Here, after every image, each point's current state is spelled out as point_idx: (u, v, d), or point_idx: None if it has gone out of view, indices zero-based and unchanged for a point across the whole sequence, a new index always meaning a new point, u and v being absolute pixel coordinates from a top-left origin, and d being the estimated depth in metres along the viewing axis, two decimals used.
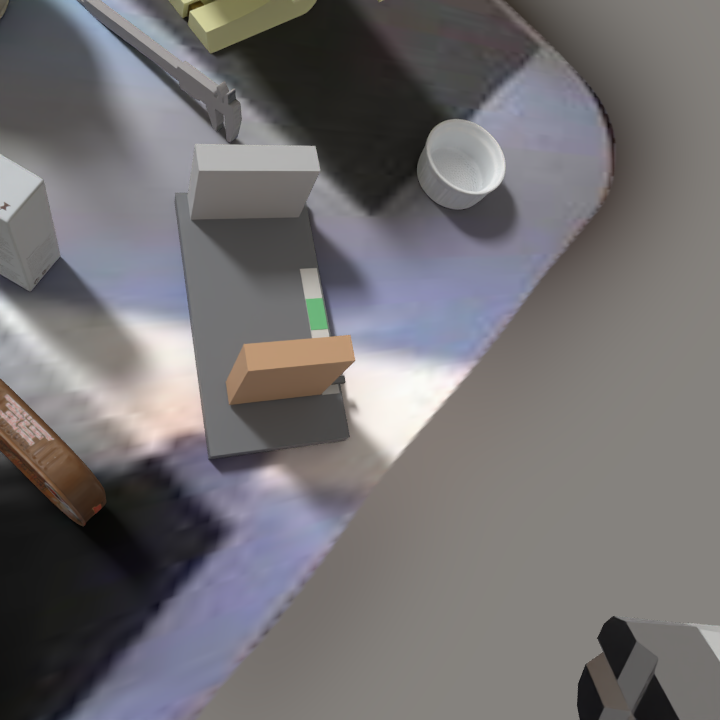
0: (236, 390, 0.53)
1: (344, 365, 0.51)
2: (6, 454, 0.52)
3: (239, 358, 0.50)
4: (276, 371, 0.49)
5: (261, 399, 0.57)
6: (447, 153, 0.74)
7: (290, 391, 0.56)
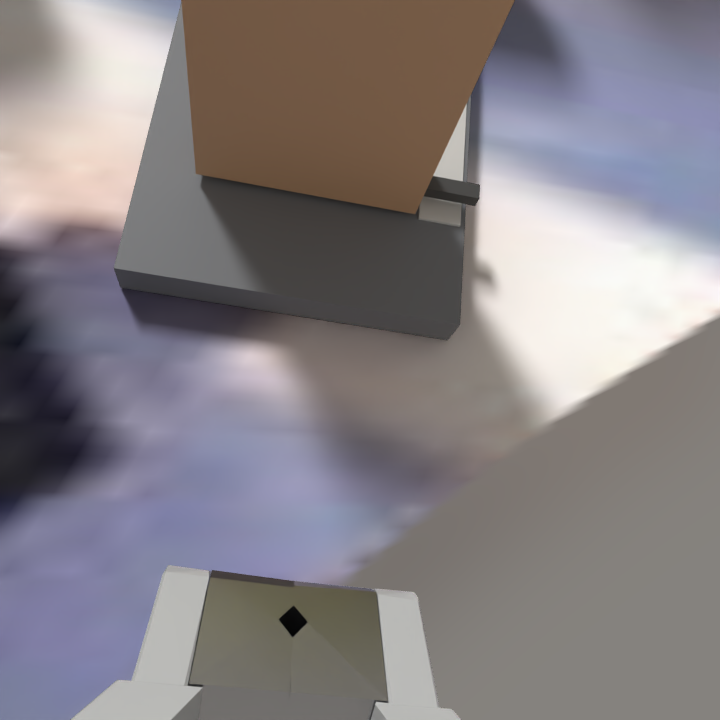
0: (189, 83, 0.20)
1: (484, 18, 0.17)
2: None
3: None
4: None
5: (270, 176, 0.24)
6: None
7: (337, 157, 0.23)
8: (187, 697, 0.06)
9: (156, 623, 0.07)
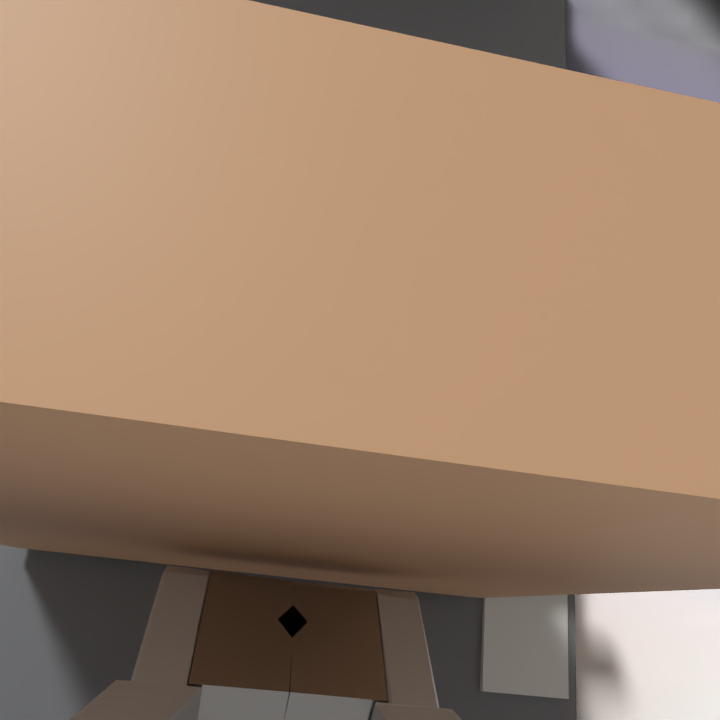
0: None
1: None
2: None
3: None
4: None
5: (171, 562, 0.11)
6: None
7: (312, 571, 0.10)
8: (187, 697, 0.06)
9: (155, 623, 0.07)
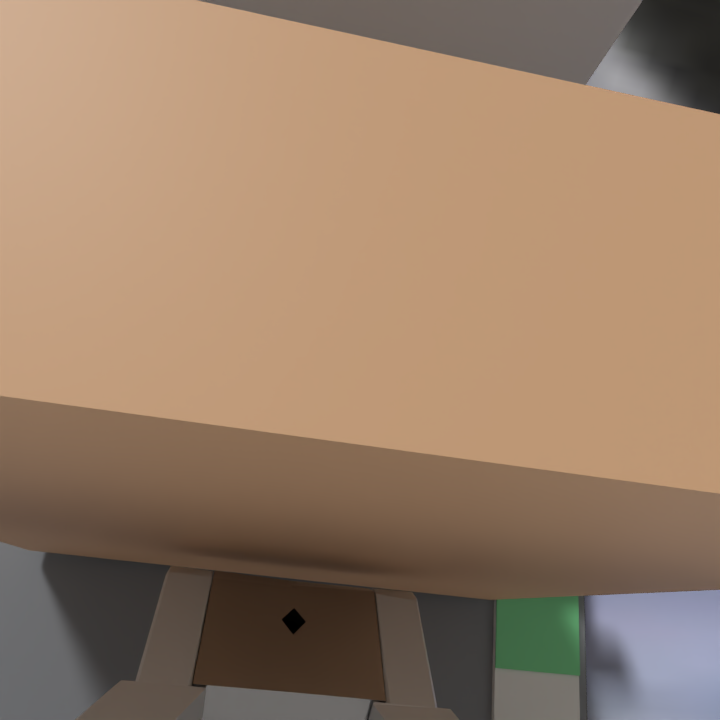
0: None
1: None
2: None
3: None
4: None
5: (187, 564, 0.11)
6: None
7: (330, 574, 0.10)
8: (191, 697, 0.06)
9: (159, 623, 0.07)
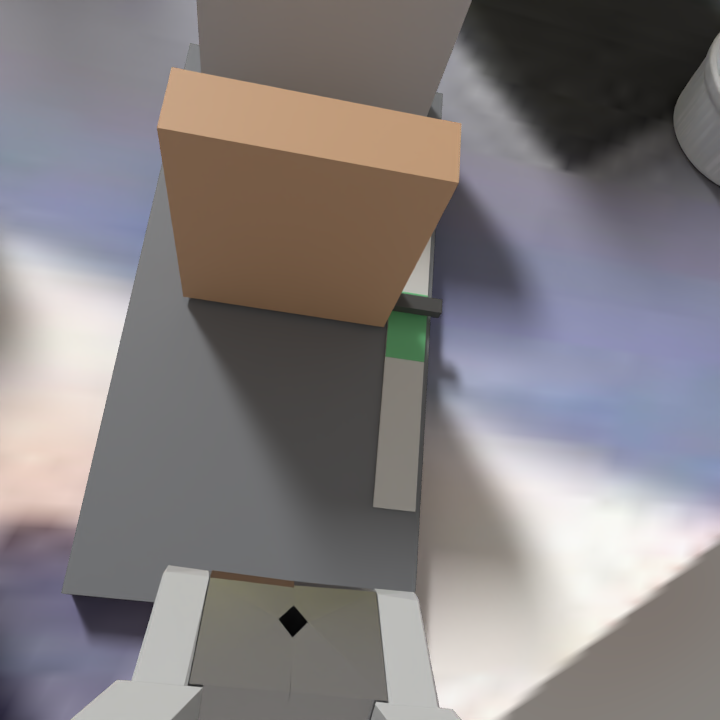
0: (174, 237, 0.23)
1: (429, 202, 0.19)
2: None
3: None
4: (243, 163, 0.19)
5: (251, 299, 0.26)
6: None
7: (309, 288, 0.25)
8: (187, 697, 0.06)
9: (156, 623, 0.07)
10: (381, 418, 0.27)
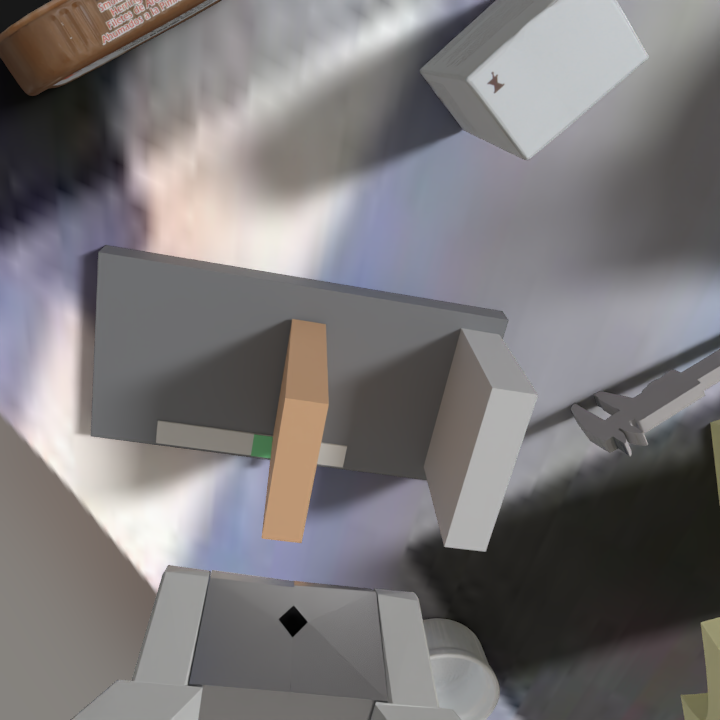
0: (291, 349, 0.36)
1: (264, 516, 0.35)
2: None
3: (321, 380, 0.33)
4: (279, 430, 0.33)
5: None
6: (465, 663, 0.54)
7: (278, 408, 0.40)
8: (187, 697, 0.06)
9: (156, 623, 0.07)
10: (213, 428, 0.43)
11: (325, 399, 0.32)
